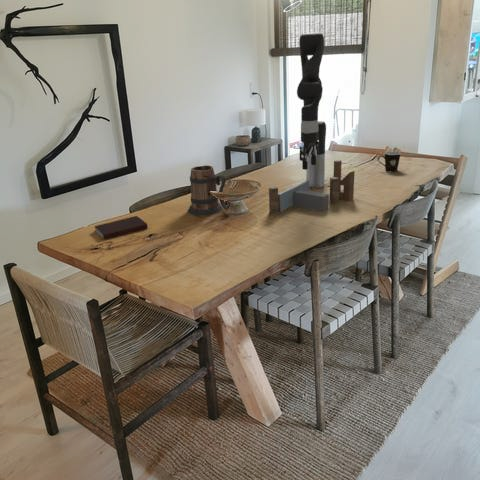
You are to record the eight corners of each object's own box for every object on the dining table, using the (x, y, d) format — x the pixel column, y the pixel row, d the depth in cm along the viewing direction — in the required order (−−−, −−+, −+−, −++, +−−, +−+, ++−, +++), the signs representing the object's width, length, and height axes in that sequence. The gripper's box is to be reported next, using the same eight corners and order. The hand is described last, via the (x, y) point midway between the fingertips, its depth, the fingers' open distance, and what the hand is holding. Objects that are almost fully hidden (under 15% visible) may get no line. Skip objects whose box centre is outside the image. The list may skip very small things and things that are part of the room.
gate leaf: (274, 211, 214) (274, 194, 211) (305, 195, 234) (305, 179, 231) (279, 212, 213) (279, 195, 210) (309, 196, 233) (309, 180, 229)
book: (148, 230, 203) (147, 222, 202) (104, 241, 194) (102, 233, 192) (137, 222, 213) (136, 215, 212) (94, 232, 203) (93, 225, 202)
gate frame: (269, 213, 214) (268, 187, 209) (335, 201, 225) (335, 176, 220) (272, 215, 211) (271, 189, 207) (338, 203, 222) (339, 178, 217)
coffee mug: (401, 169, 273) (402, 152, 269) (396, 173, 266) (398, 155, 262) (380, 167, 279) (382, 150, 275) (376, 171, 272) (377, 153, 268)
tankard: (180, 212, 221) (175, 170, 213) (201, 202, 234) (198, 162, 226) (221, 219, 209) (218, 175, 201) (241, 208, 222) (239, 166, 214)
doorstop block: (293, 206, 222) (292, 191, 219) (298, 203, 225) (298, 189, 222) (323, 211, 213) (323, 196, 210) (328, 209, 216) (328, 194, 213)
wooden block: (348, 201, 224) (350, 164, 217) (330, 197, 231) (331, 160, 225) (353, 199, 226) (355, 162, 219) (335, 195, 234) (336, 159, 227)
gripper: (309, 127, 213) (308, 162, 219) (294, 133, 202) (294, 170, 209) (324, 128, 209) (323, 164, 215) (310, 134, 198) (309, 171, 205)
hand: (309, 167), depth 212 cm, fingers open, 8 cm apart
